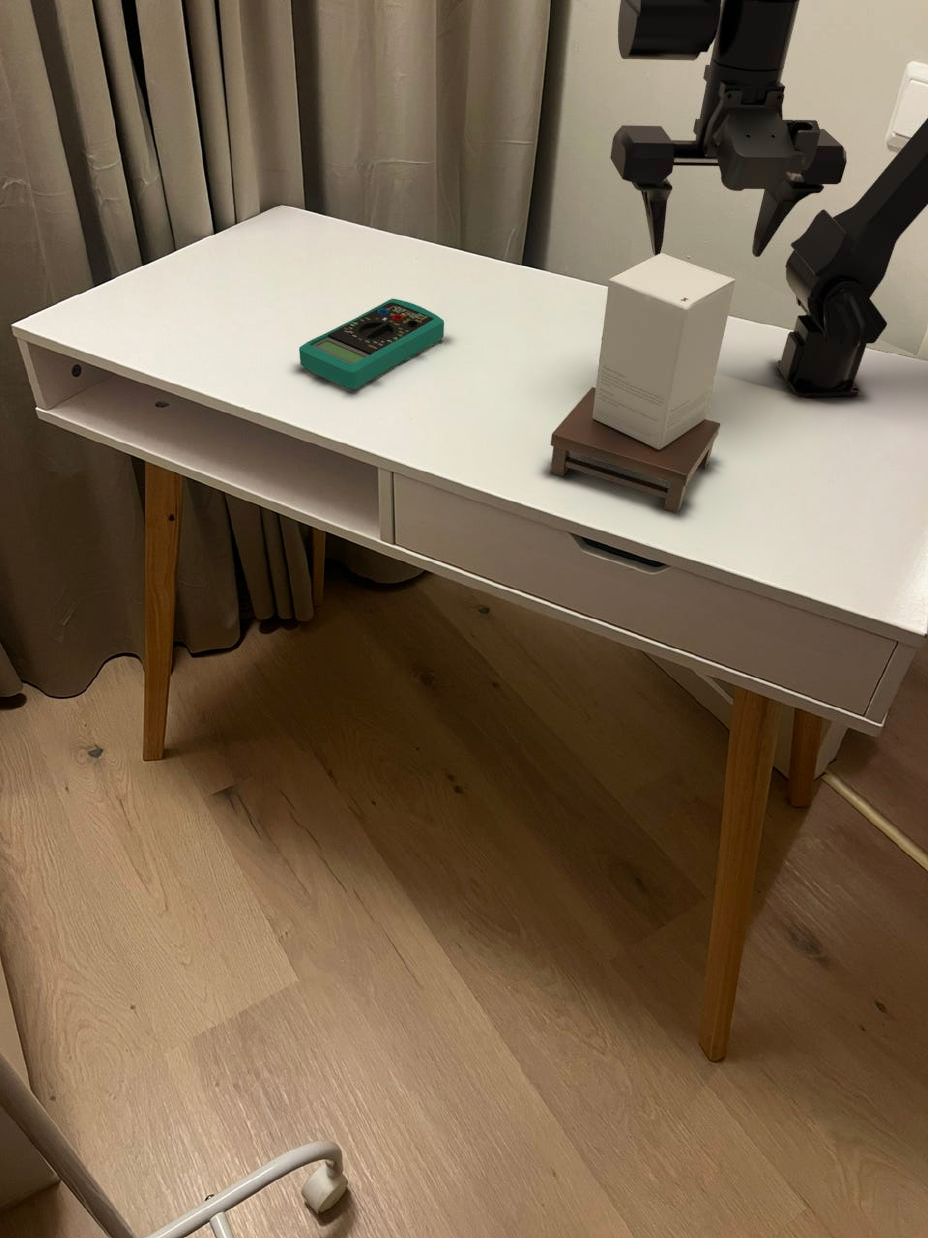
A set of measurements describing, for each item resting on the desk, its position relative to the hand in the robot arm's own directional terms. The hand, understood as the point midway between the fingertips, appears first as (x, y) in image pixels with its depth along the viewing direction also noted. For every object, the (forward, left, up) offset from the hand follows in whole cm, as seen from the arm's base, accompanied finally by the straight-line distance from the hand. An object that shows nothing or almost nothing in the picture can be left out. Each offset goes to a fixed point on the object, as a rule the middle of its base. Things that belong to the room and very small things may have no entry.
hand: (706, 254), depth 89 cm
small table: (+8, +14, -13) cm, 21 cm away
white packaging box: (+7, +12, -9) cm, 17 cm away
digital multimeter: (+30, -7, -13) cm, 33 cm away
